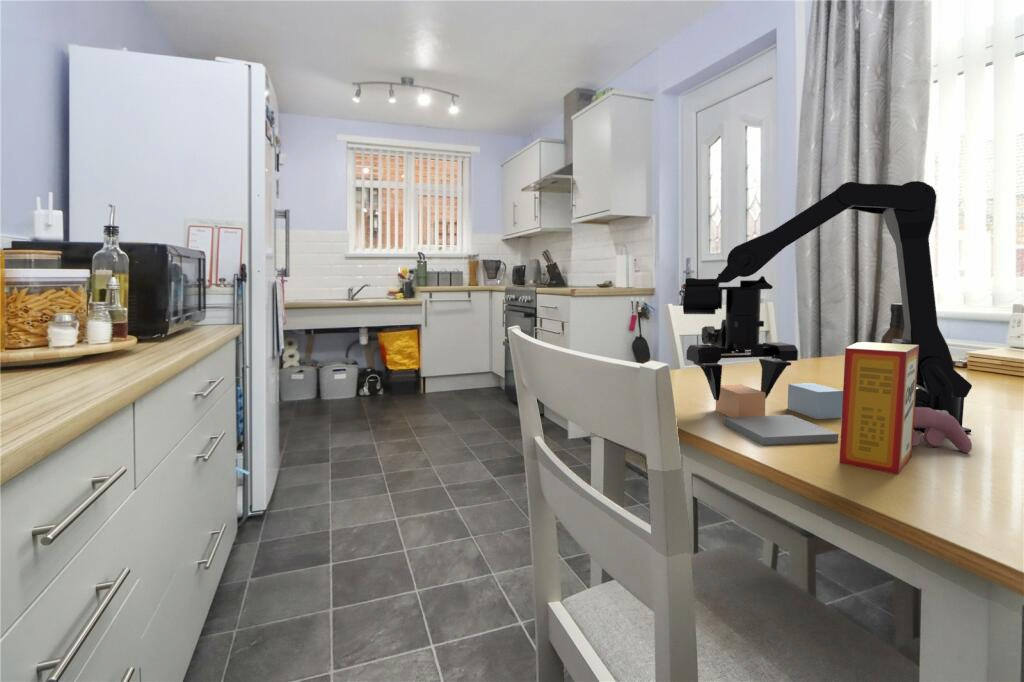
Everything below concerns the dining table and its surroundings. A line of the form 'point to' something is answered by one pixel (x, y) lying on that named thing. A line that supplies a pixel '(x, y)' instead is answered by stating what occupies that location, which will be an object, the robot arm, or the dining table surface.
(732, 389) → the brick bottom
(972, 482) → the dining table surface
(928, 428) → the video game controller
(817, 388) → the brick top
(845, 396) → the baking soda box
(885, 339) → the sauce bottle
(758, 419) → the baseplate
